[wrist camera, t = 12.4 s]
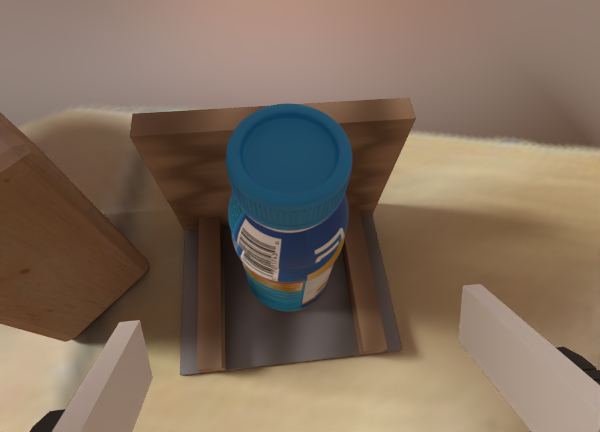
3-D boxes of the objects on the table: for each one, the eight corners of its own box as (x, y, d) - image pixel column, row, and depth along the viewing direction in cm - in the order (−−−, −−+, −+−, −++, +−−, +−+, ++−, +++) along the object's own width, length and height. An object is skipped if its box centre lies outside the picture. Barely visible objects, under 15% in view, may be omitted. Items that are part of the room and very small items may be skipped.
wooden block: (70, 348, 34) (-171, 286, 16) (10, 278, 36) (-255, 160, 19) (156, 268, 37) (38, 146, 20) (95, 211, 40) (-58, 58, 22)
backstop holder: (182, 375, 33) (103, 354, 19) (187, 216, 40) (132, 113, 26) (399, 350, 35) (479, 314, 20) (367, 202, 42) (409, 97, 27)
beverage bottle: (236, 246, 38) (191, 107, 20) (313, 223, 39) (336, 75, 22) (258, 326, 34) (228, 244, 17) (342, 298, 36) (398, 195, 18)
